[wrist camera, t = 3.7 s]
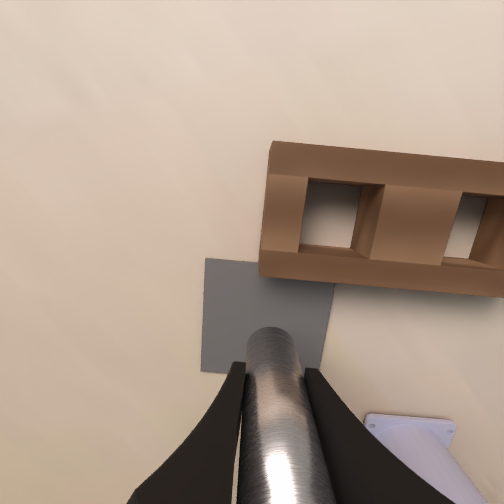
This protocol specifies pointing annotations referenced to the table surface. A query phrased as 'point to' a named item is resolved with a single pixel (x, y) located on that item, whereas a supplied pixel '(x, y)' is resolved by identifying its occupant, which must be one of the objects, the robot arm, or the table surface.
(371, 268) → the walnut hole block
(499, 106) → the table surface
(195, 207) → the table surface
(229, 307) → the rubber mat
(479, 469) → the table surface
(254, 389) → the peg
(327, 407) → the robot arm
